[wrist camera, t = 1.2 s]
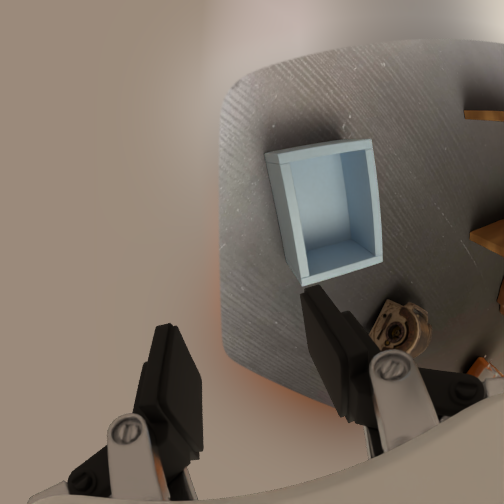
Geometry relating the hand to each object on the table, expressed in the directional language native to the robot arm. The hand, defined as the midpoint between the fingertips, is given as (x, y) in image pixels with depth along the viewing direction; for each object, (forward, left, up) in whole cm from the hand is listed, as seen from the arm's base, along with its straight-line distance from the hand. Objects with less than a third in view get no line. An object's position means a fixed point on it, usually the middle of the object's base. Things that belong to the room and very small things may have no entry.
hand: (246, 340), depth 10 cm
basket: (0, +9, -17) cm, 20 cm away
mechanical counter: (+20, +19, -18) cm, 33 cm away
